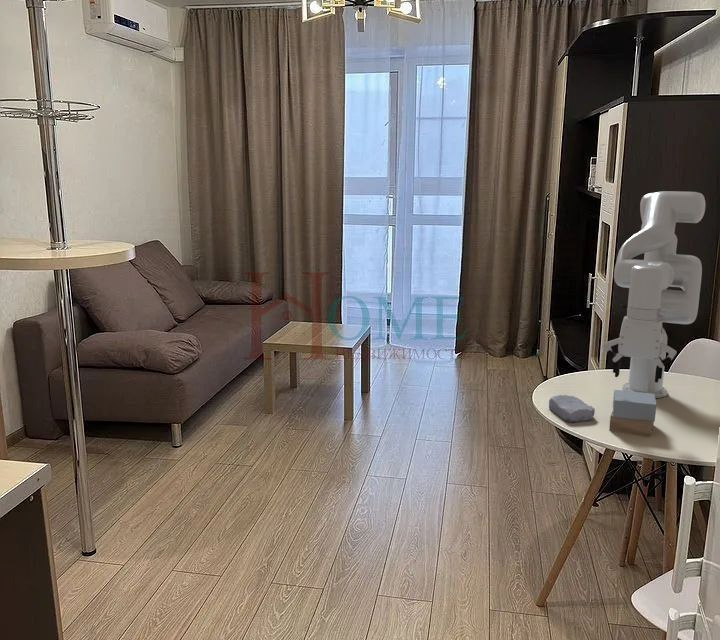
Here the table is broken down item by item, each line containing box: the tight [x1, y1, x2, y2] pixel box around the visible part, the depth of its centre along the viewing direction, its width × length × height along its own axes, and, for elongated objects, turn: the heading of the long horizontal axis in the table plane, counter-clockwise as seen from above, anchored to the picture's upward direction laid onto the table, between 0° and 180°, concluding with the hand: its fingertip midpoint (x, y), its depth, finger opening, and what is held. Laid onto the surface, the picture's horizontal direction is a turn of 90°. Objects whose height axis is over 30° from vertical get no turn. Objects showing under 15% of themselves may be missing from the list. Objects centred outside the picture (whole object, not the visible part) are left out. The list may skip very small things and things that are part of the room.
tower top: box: [612, 389, 657, 422], centre depth 183 cm, size 9×10×4 cm
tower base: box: [608, 410, 655, 438], centre depth 184 cm, size 9×10×4 cm
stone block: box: [548, 394, 596, 423], centre depth 194 cm, size 12×5×10 cm
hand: (636, 378), depth 181 cm, fingers open, 9 cm apart
